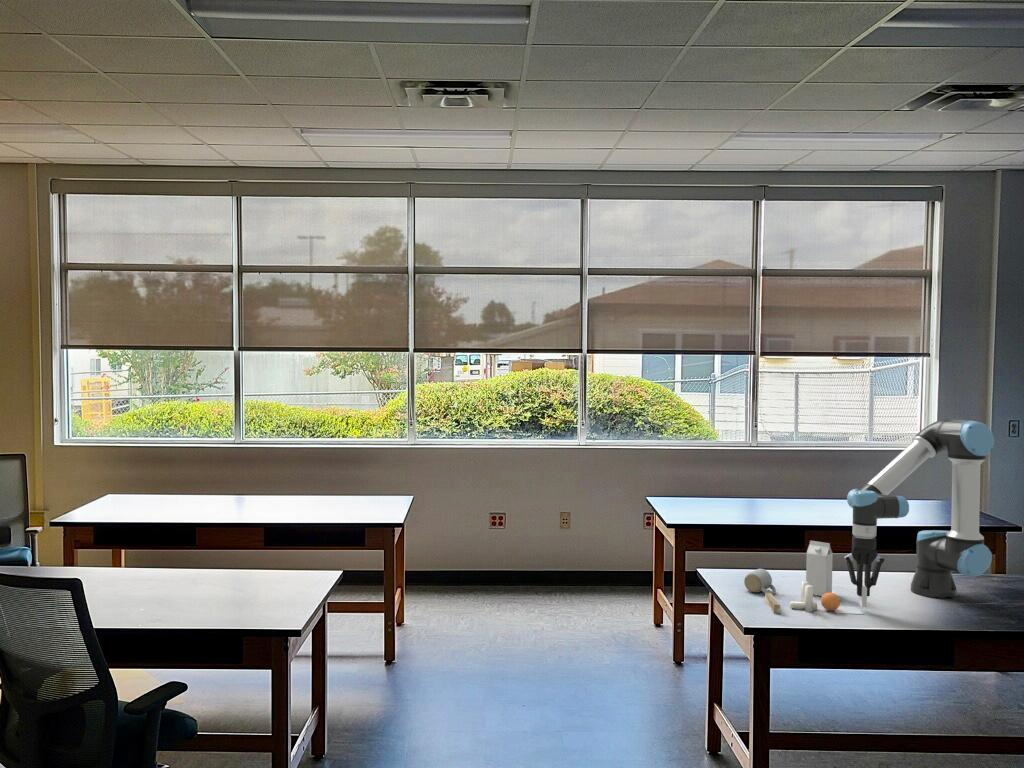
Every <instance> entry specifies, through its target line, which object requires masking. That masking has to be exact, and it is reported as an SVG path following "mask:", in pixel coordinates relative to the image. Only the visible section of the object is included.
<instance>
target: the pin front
mask: <svg viewBox="0 0 1024 768" xmlns="http://www.w3.org/2000/svg"><path fill="white" fill-rule="evenodd" d="M789 607H790V608H789V609H791V608H793V609H794V610H805V602H801V601H789ZM793 609H792V610H793ZM813 609H816V610H818V604H817V602H816V601H813Z"/></svg>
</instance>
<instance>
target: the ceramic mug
mask: <svg viewBox="0 0 1024 768" xmlns="http://www.w3.org/2000/svg"><path fill="white" fill-rule="evenodd" d="M743 580H744V582H743V583H744V586H745V588H746V590H747V591H749V592H751V593H760V592H762V593H764V594H765V593H771V594H773V595H775V594H774V593H776V592H777V590H776V587H775V586H774V585H773V584H772V583H773V578H772V576H771V574H770V572H769V571H768V570H766V569H764V568H757V569H755V570H753V571H751V572H749V573H748V574H746V576H745V577H744V579H743ZM768 589H771V590H768Z"/></svg>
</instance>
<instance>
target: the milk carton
mask: <svg viewBox="0 0 1024 768" xmlns="http://www.w3.org/2000/svg"><path fill="white" fill-rule="evenodd" d="M833 557H834V556H833V551H832V548H831V543H829V542H822V541H815V540H809V544H808V546H807V550H806V560H805V561H806V567H805V568H806V572H805V574H806V575H805V581H807V582H809V585H811V586H813V594H814V595H813V596H817V595H818V596H819V597H822V596H823V595H824V594H826V593H833ZM818 596H817V597H818Z"/></svg>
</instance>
